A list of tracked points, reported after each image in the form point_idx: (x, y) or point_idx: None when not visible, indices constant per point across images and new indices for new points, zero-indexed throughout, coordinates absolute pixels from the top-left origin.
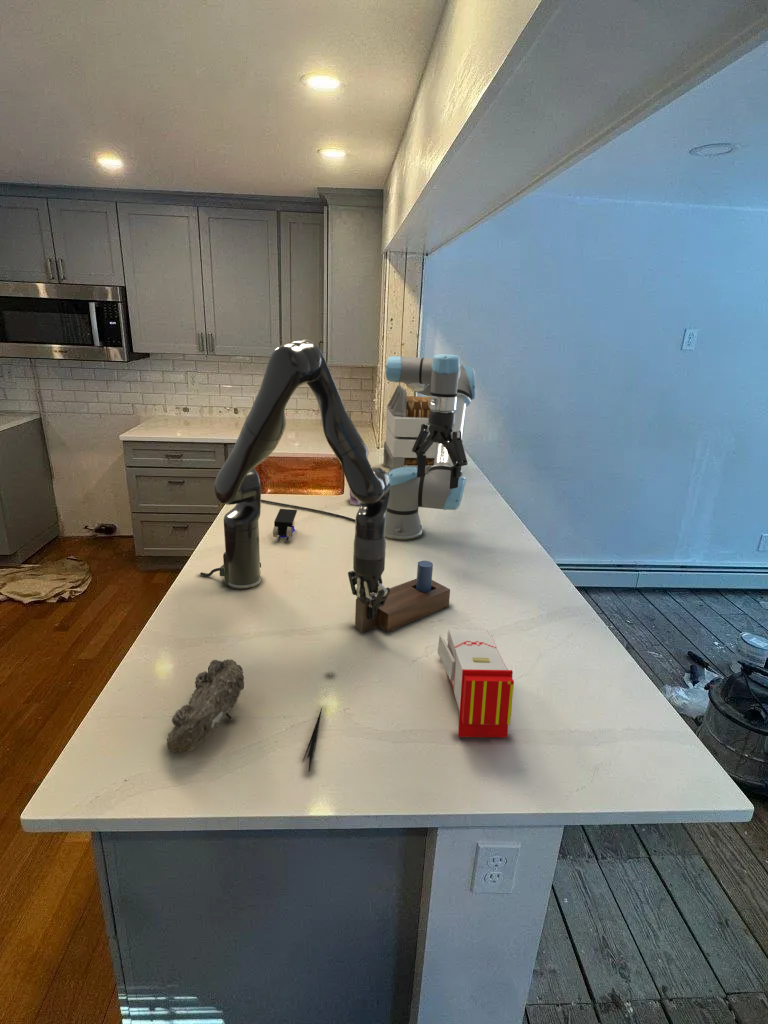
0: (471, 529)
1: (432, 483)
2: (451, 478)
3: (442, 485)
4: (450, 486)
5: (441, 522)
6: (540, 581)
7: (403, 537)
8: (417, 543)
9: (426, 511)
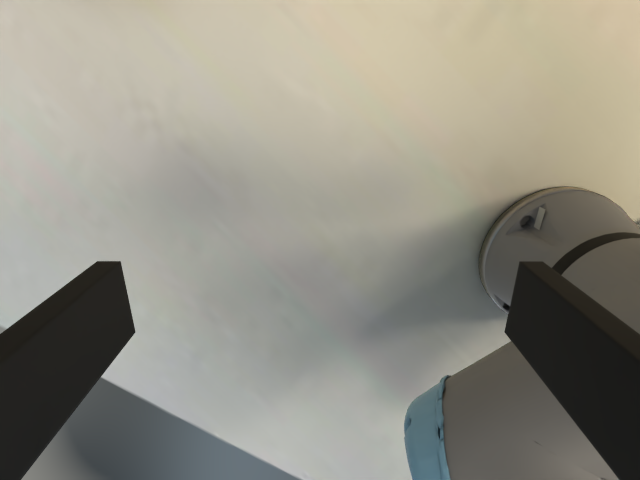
0: None
1: (549, 433)
2: (39, 312)
3: (497, 451)
4: (98, 269)
5: None
6: None
7: (503, 220)
8: (452, 238)
9: None
